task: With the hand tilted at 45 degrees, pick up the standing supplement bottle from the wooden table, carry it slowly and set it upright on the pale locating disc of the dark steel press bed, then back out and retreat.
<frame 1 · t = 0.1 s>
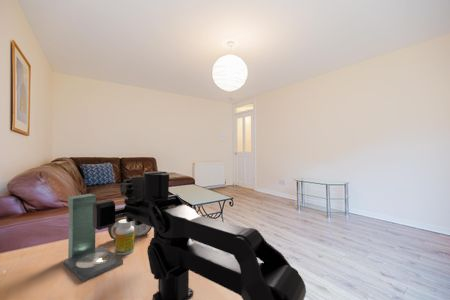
hand: (117, 203, 59), 17 cm above the table, tool horizontal, fingers open, 9 cm apart
supplement bottle: (124, 251, 64), on the table
press: (93, 263, 56), on the table
tin: (131, 237, 74), on the table
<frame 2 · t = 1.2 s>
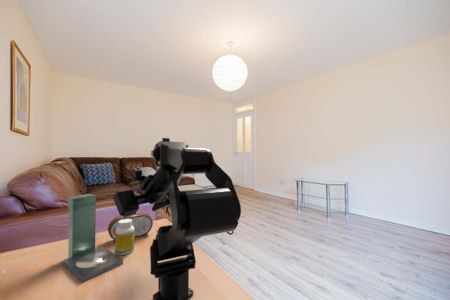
hand: (139, 213, 59), 13 cm above the table, tool tilted 45°, fingers open, 9 cm apart
nothing on the table moved.
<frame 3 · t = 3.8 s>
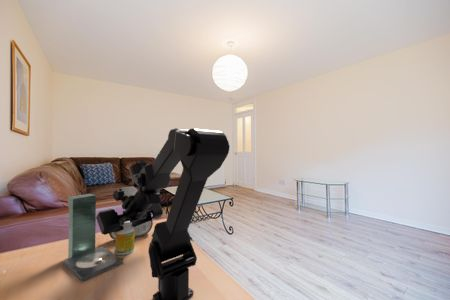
hand: (122, 229, 64), 7 cm above the table, tool tilted 45°, fingers closed on supplement bottle, 5 cm apart
supplement bottle: (124, 251, 64), on the table, touching gripper
everything else where it was.
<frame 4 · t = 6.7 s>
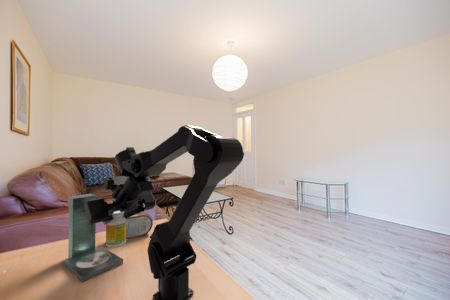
hand: (114, 220, 62), 10 cm above the table, tool tilted 45°, fingers closed on supplement bottle, 5 cm apart
supplement bottle: (116, 243, 61), point 3 cm above the table, touching gripper
everything else where it was.
when the fingers open (8 cm above the table, at t = 9.4 s): supplement bottle stays where it is, resting on press.
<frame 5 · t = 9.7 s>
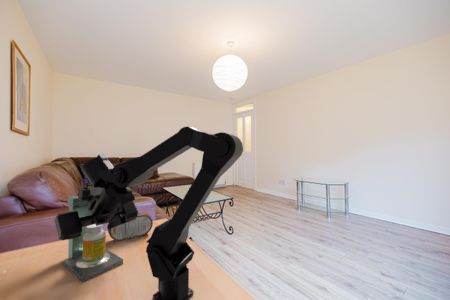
hand: (91, 233, 57), 8 cm above the table, tool tilted 45°, fingers open, 9 cm apart
supplement bottle: (94, 260, 56), point 1 cm above the table, touching press
everything else where it was.
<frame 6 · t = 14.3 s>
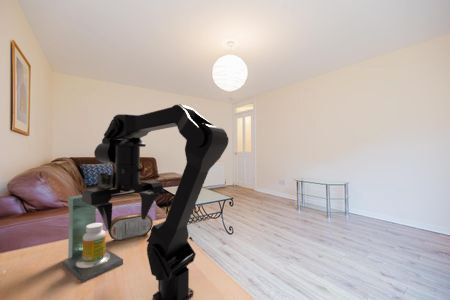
hand: (127, 224, 52), 13 cm above the table, tool pointing down, fingers open, 9 cm apart
nothing on the table moved.
at the end: supplement bottle 0.2 cm off-centre on the press, point 1.1 cm above the press's base; supplement bottle tilted 0°; the gripper is holding nothing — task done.
